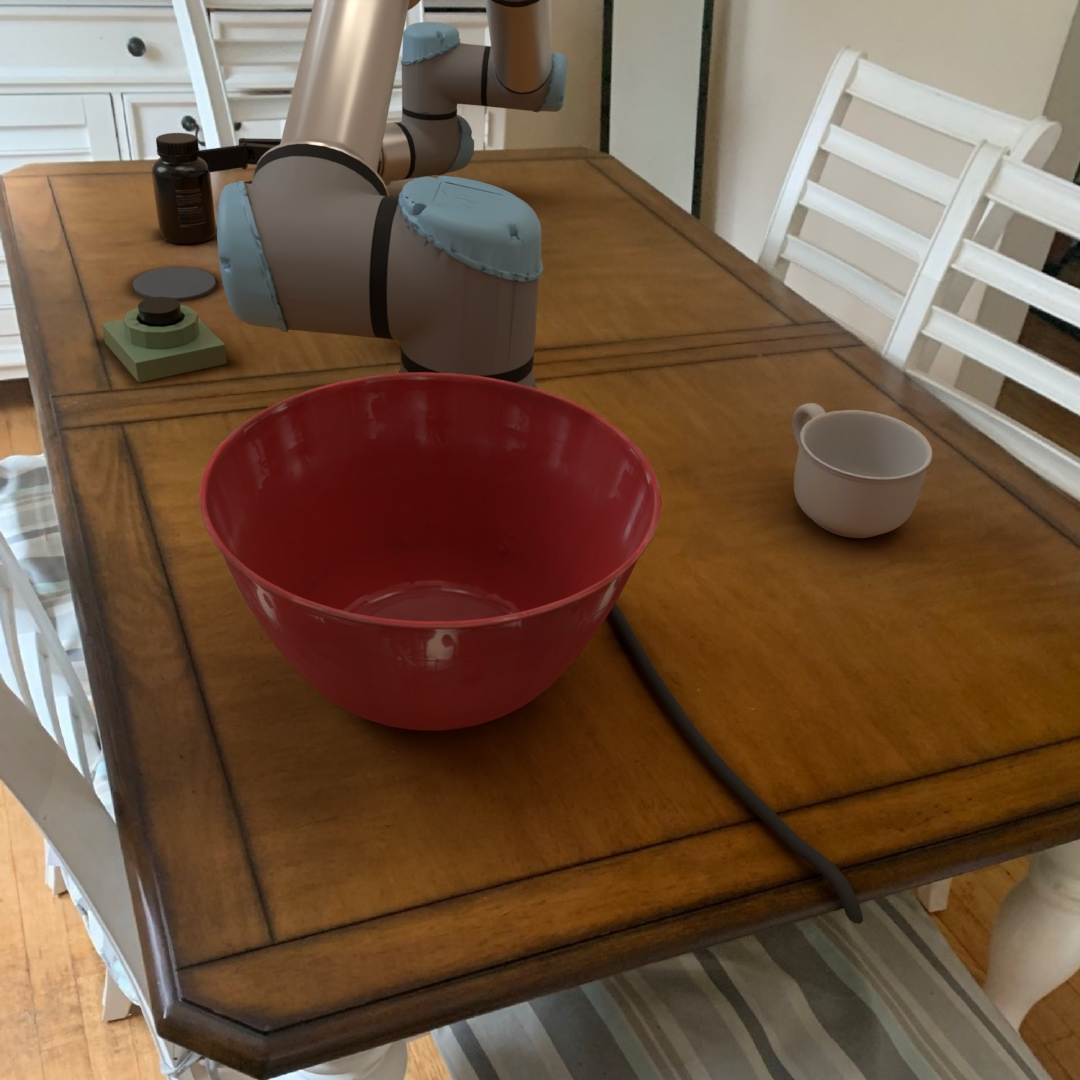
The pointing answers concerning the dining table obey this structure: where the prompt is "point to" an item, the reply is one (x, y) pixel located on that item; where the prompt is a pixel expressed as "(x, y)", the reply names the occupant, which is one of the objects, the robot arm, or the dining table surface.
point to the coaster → (174, 283)
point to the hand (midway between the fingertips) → (219, 177)
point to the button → (159, 312)
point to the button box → (164, 346)
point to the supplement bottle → (183, 190)
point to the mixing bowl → (430, 539)
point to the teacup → (857, 469)
